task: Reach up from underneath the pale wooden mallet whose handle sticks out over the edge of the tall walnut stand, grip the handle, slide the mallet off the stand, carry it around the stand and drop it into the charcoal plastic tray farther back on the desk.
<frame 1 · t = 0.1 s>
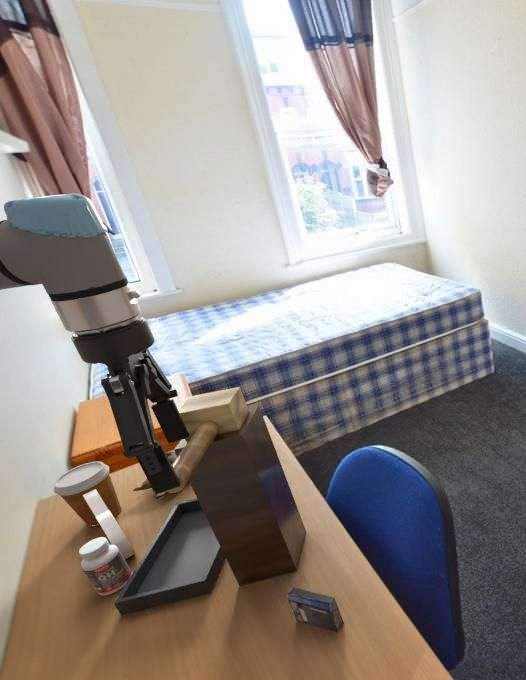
hand: (174, 462, 66), 32 cm above the table, tool pointing down, fingers open, 13 cm apart
pill bottle: (116, 584, 88), on the table
tray: (195, 548, 94), on the table
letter: (119, 542, 98), on the table, touching disposable coffee cup
stand: (274, 557, 90), on the table
disposable coffee cup: (104, 516, 106), on the table, touching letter
mallet: (203, 449, 71), point 30 cm above the table, touching stand
mini dv tape: (320, 622, 76), on the table
ceramic sculpture: (179, 482, 115), on the table
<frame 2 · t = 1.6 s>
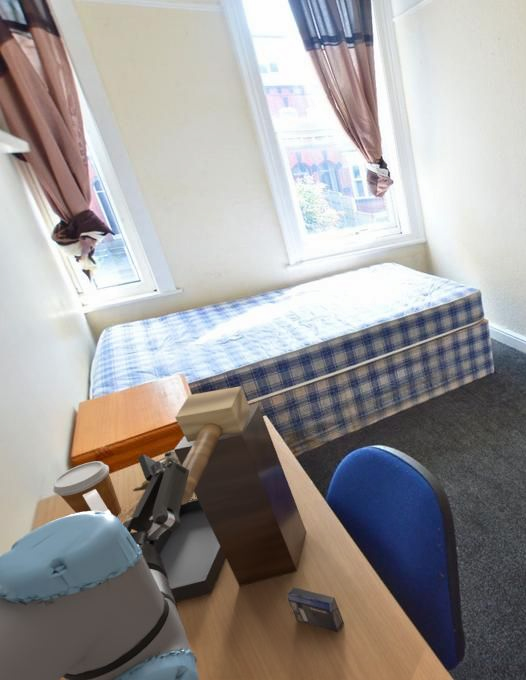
hand: (103, 501, 63), 30 cm above the table, tool horizontal, fingers open, 13 cm apart
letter: (119, 542, 98), on the table, touching disposable coffee cup
mallet: (207, 454, 71), point 30 cm above the table, tilted 7°, touching stand
everything else where it was.
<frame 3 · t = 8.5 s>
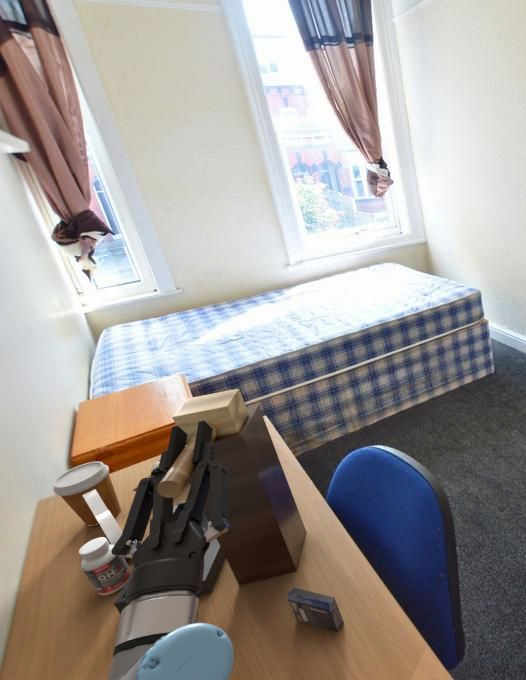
hand: (192, 428, 70), 34 cm above the table, tool pointing upward, fingers closed on mallet, 3 cm apart
mallet: (202, 453, 71), point 30 cm above the table, touching gripper, stand
everything else where it was.
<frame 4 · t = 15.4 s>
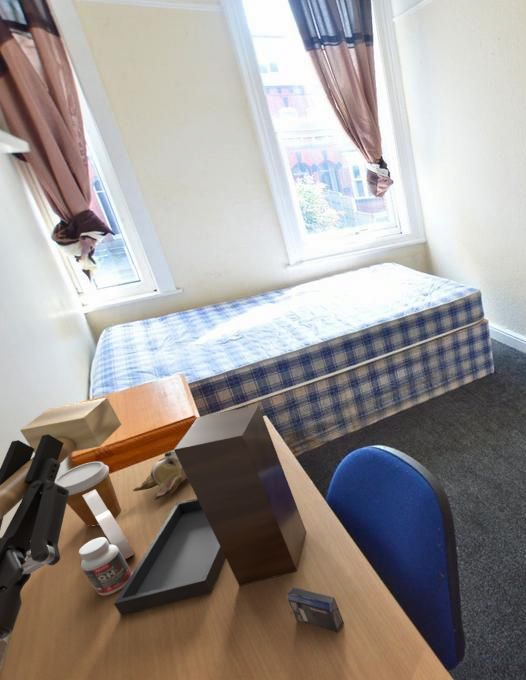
hand: (38, 442, 63), 38 cm above the table, tool pointing upward, fingers closed on mallet, 3 cm apart
mallet: (50, 469, 64), point 34 cm above the table, touching gripper
everything else where it was.
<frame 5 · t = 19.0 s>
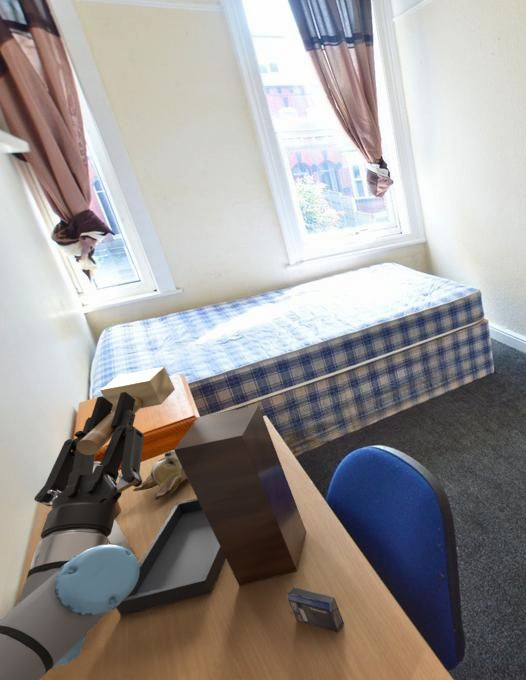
hand: (116, 398, 80), 35 cm above the table, tool pointing upward, fingers closed on mallet, 3 cm apart
mallet: (125, 420, 81), point 31 cm above the table, touching gripper
everything else where it was.
when the fingers open (25 cm above the table, at t = 22.1 s): mallet drops 20 cm, resting on tray.
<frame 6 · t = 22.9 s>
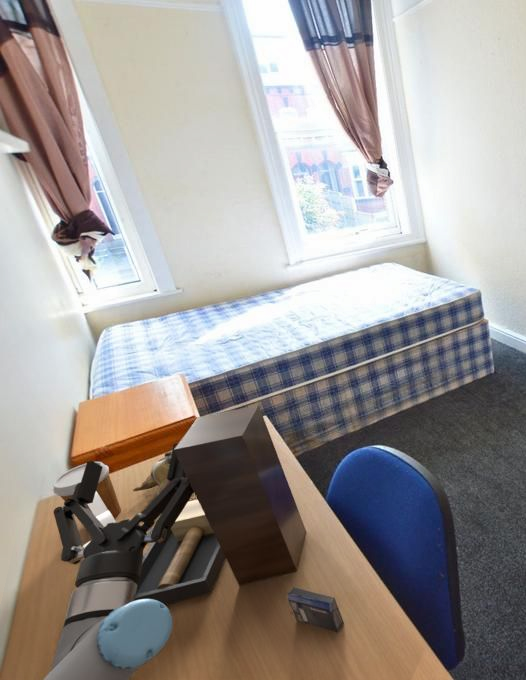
hand: (138, 455, 82), 25 cm above the table, tool pointing upward, fingers open, 13 cm apart
mallet: (190, 552, 92), point 1 cm above the table, touching tray
everything else where it was.
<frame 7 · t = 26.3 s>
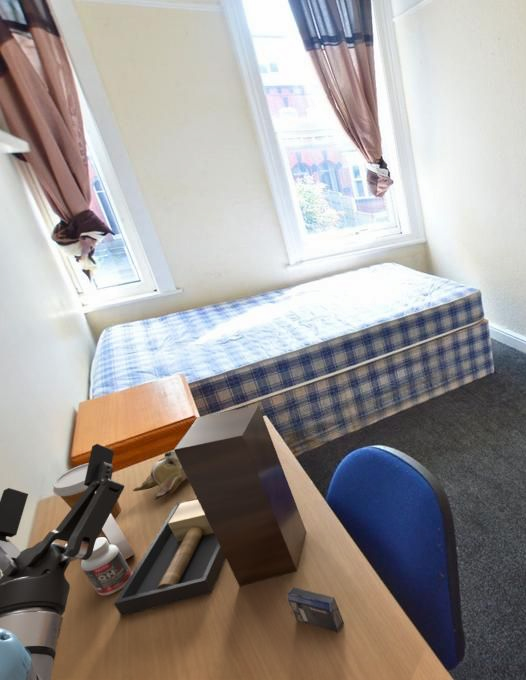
hand: (60, 469, 69), 31 cm above the table, tool pointing upward, fingers open, 13 cm apart
nothing on the table moved.
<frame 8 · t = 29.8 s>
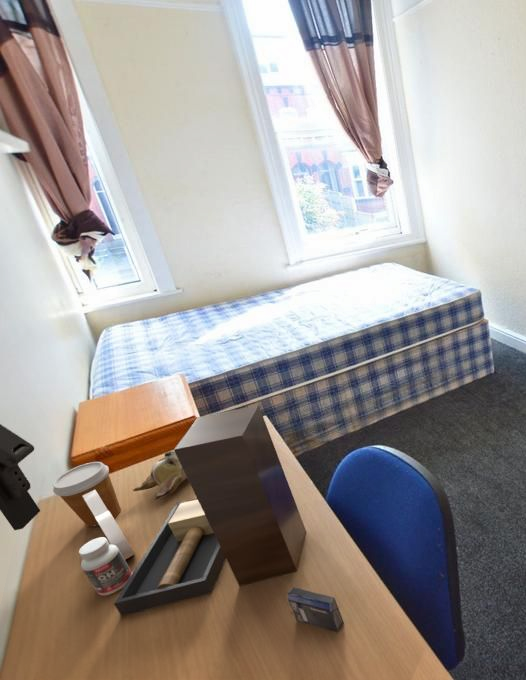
nothing on the table moved.
at the end: mallet inside the target area on the tray (1.4 cm from its centre), point 0.6 cm above the tray's base; mallet touching tray; the gripper is holding nothing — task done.
